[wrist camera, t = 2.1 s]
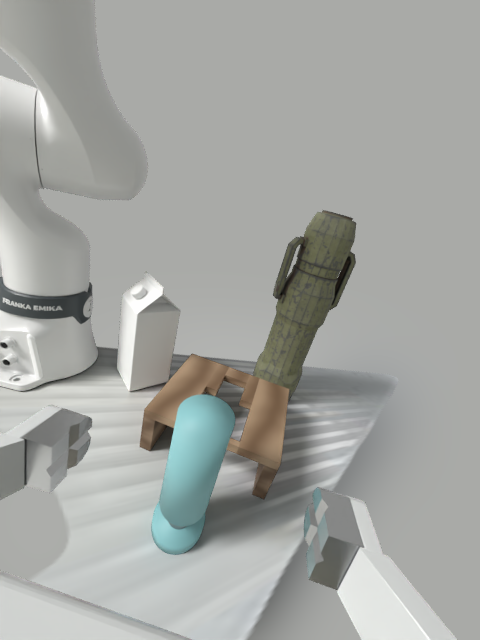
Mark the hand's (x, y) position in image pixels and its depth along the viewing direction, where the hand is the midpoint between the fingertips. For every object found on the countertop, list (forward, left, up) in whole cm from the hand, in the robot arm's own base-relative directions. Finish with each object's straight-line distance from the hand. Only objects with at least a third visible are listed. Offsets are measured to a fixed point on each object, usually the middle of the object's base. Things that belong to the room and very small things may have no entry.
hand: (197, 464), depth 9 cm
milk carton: (-7, +35, -25) cm, 44 cm away
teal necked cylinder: (+2, +11, -25) cm, 27 cm away
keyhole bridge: (+7, +24, -25) cm, 35 cm away
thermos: (+18, +36, -25) cm, 47 cm away
